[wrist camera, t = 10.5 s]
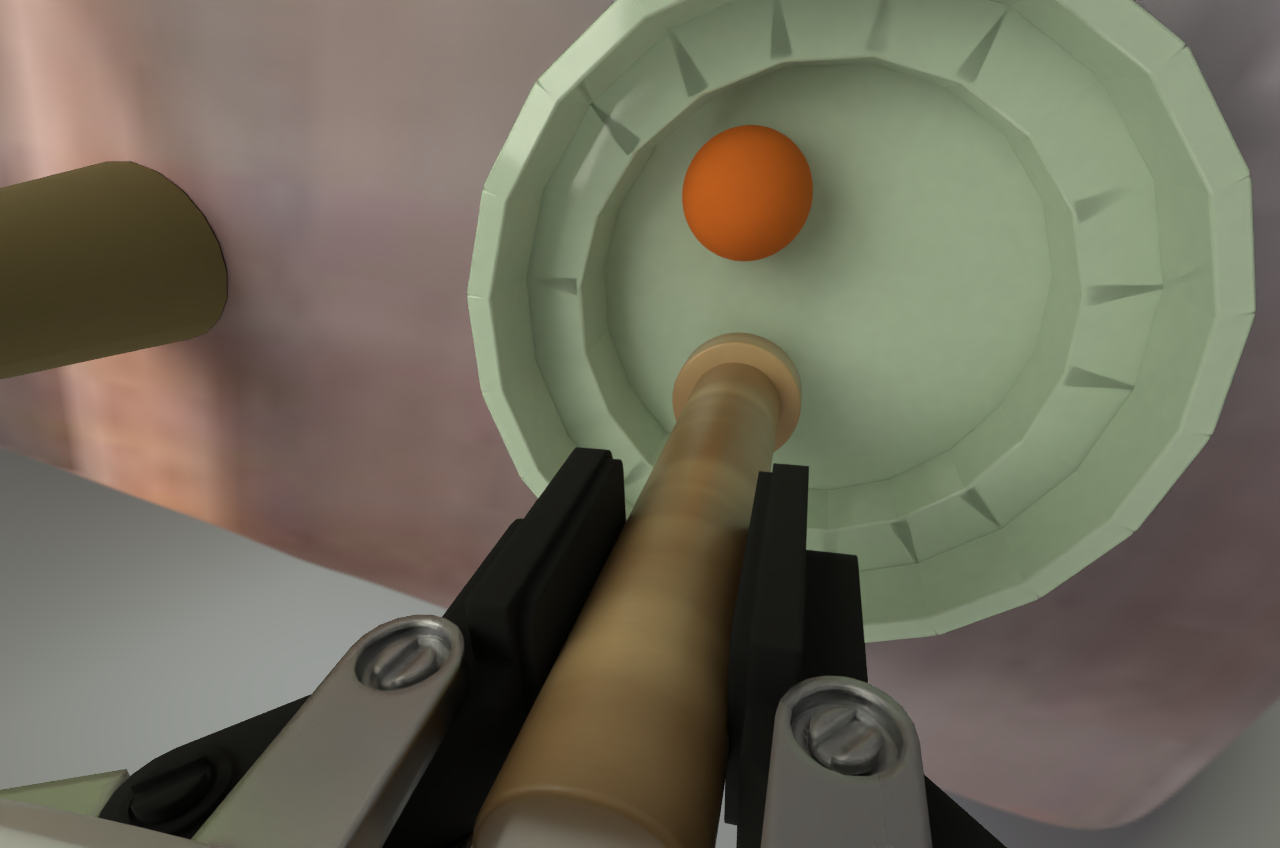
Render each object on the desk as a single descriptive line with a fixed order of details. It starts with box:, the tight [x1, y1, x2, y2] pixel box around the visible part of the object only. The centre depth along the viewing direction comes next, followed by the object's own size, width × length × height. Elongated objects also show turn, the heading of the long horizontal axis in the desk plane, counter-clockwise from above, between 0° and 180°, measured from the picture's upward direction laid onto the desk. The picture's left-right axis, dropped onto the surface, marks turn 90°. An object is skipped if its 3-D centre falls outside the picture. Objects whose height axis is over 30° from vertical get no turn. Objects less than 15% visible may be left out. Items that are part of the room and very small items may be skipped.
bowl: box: [467, 0, 1256, 643], centre depth 16 cm, size 15×15×5 cm
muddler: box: [473, 332, 802, 848], centre depth 12 cm, size 3×3×13 cm
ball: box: [682, 125, 813, 261], centre depth 16 cm, size 3×3×3 cm
